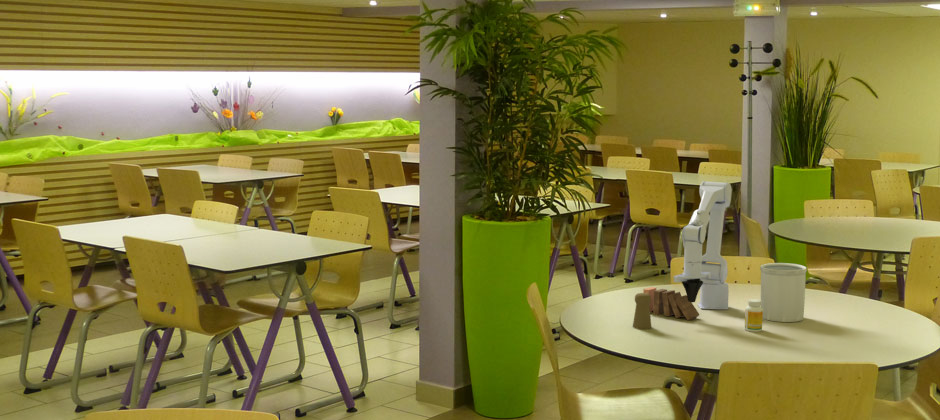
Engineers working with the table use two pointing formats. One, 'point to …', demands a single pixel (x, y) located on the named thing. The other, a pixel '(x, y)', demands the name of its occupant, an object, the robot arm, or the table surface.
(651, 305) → the domino
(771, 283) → the utensil holder
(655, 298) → the domino
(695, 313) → the domino
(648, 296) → the cork
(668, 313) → the domino
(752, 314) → the supplement bottle
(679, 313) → the domino
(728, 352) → the table surface
